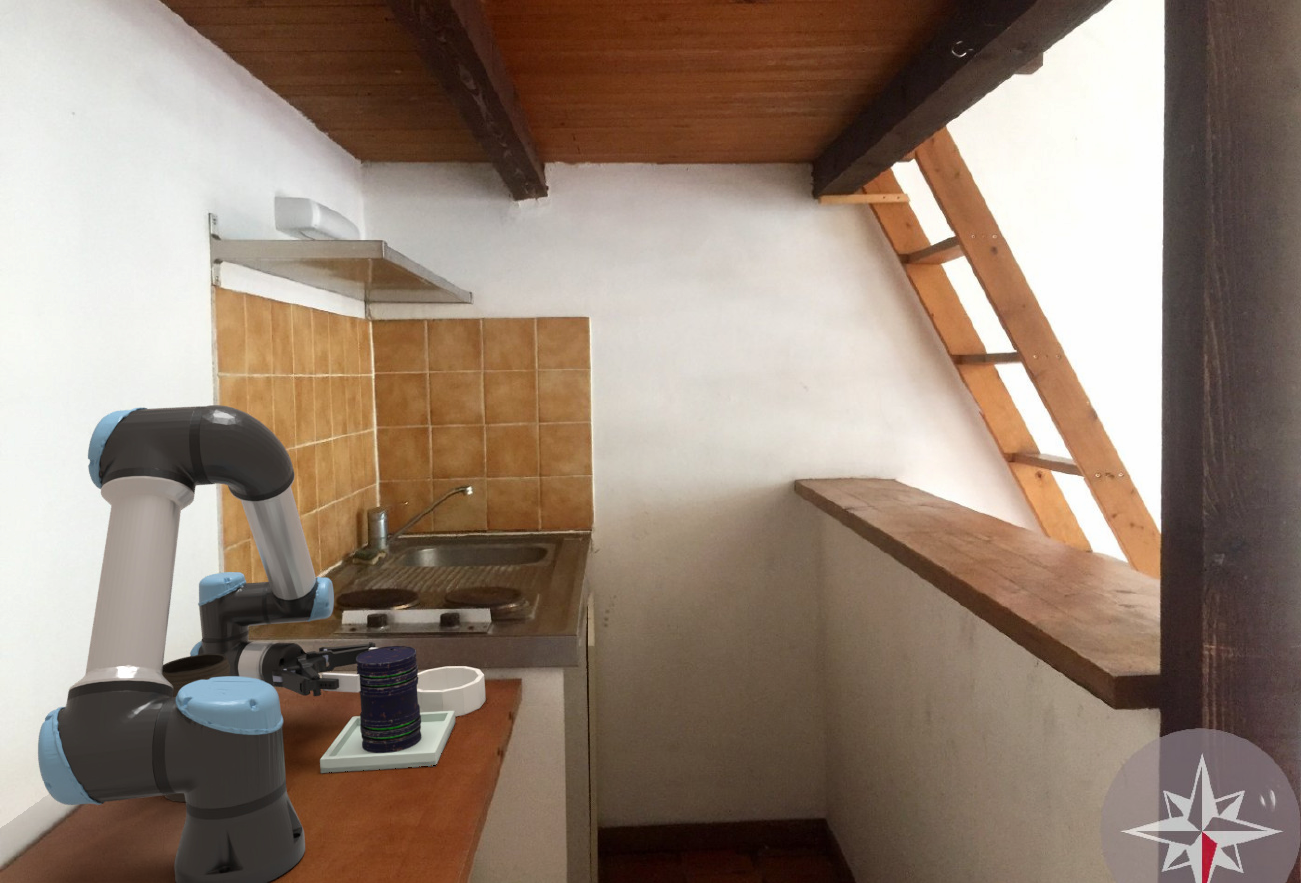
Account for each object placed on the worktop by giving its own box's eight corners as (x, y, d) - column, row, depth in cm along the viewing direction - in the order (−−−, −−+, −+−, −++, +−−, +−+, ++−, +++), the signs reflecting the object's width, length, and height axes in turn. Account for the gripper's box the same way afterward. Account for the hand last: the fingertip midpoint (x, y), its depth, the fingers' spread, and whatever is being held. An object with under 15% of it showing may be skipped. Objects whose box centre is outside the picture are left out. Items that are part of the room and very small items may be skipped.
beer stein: (259, 770, 140) (242, 648, 139) (220, 802, 129) (201, 670, 128) (170, 776, 142) (152, 655, 141) (124, 808, 131) (104, 678, 130)
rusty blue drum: (411, 753, 142) (405, 663, 141) (352, 754, 143) (346, 664, 142) (429, 728, 152) (424, 644, 151) (373, 730, 153) (368, 646, 152)
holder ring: (442, 724, 156) (440, 697, 156) (390, 710, 165) (388, 684, 164) (500, 698, 168) (498, 673, 168) (448, 686, 176) (447, 662, 176)
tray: (435, 766, 139) (435, 752, 139) (320, 773, 138) (319, 759, 138) (455, 722, 157) (454, 710, 157) (353, 728, 156) (352, 716, 156)
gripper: (319, 662, 165) (420, 667, 160) (223, 712, 141) (339, 719, 136) (316, 623, 165) (418, 627, 159) (220, 666, 141) (335, 672, 135)
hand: (382, 669), depth 147 cm, fingers open, 13 cm apart
